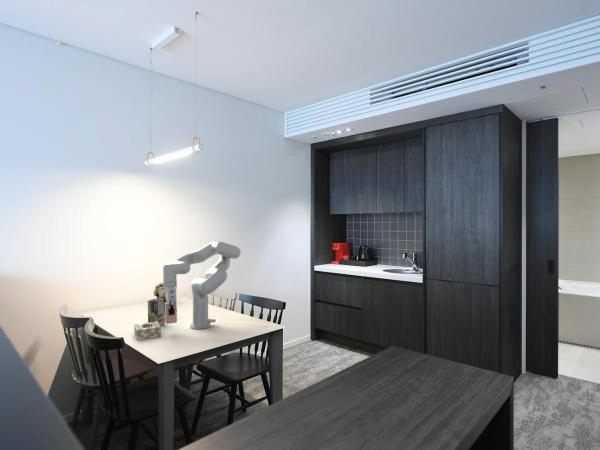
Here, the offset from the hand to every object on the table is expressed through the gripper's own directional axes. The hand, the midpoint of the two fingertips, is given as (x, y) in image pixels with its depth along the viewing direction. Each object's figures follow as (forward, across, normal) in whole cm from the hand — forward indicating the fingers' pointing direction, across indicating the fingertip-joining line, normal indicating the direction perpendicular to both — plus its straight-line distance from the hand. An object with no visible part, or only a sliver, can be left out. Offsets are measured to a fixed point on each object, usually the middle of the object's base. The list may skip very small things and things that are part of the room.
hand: (170, 313), depth 220 cm
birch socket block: (+12, +4, +13) cm, 18 cm away
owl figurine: (+13, +86, -7) cm, 87 cm away
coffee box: (+12, +24, +5) cm, 27 cm away
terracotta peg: (+5, 0, 0) cm, 5 cm away
